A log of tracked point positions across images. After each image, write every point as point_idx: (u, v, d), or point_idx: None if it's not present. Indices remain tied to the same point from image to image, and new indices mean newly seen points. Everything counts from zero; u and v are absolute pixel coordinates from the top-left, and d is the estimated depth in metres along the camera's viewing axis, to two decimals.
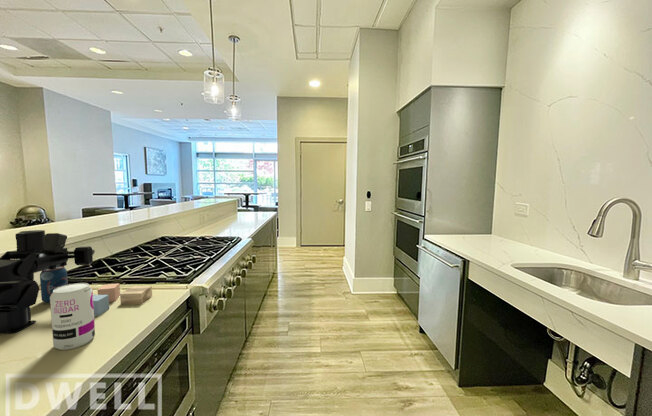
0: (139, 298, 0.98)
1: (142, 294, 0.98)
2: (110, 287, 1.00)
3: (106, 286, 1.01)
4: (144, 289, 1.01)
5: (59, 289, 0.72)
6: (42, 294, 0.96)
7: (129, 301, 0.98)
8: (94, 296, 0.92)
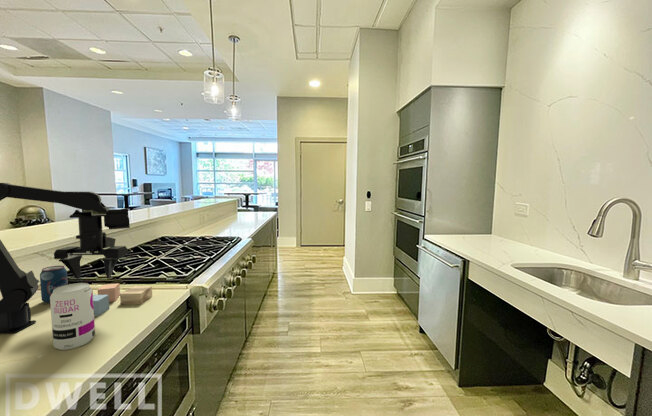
0: (138, 298, 0.98)
1: (142, 294, 0.98)
2: (110, 287, 1.00)
3: (106, 286, 1.01)
4: (143, 289, 1.01)
5: (59, 289, 0.72)
6: (42, 294, 0.96)
7: (129, 301, 0.98)
8: (94, 296, 0.92)
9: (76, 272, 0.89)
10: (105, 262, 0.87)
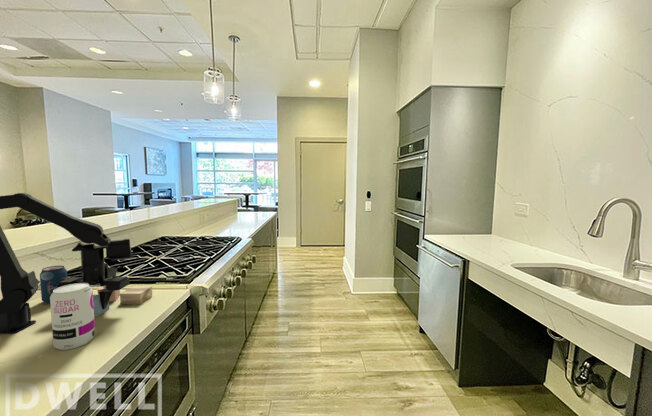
0: (138, 299, 0.98)
1: (141, 294, 0.98)
2: None
3: None
4: (143, 290, 1.01)
5: (59, 289, 0.72)
6: (42, 294, 0.96)
7: (129, 301, 0.98)
8: (94, 296, 0.92)
9: None
10: (100, 294, 0.88)
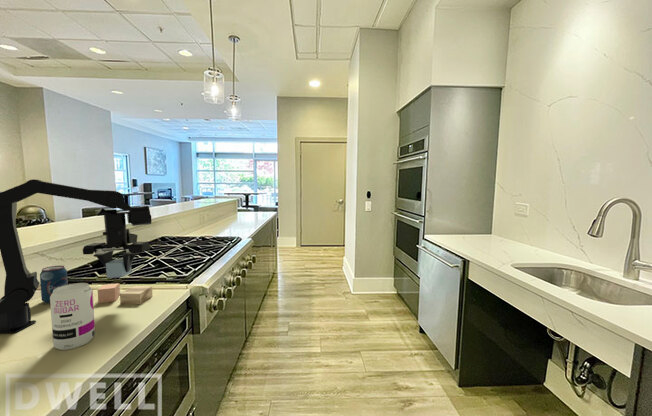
0: (138, 299, 0.98)
1: (141, 294, 0.98)
2: (110, 287, 1.00)
3: (106, 286, 1.01)
4: (143, 290, 1.01)
5: (59, 289, 0.72)
6: (42, 294, 0.96)
7: (128, 301, 0.98)
8: (117, 260, 0.96)
9: None
10: (124, 257, 0.93)
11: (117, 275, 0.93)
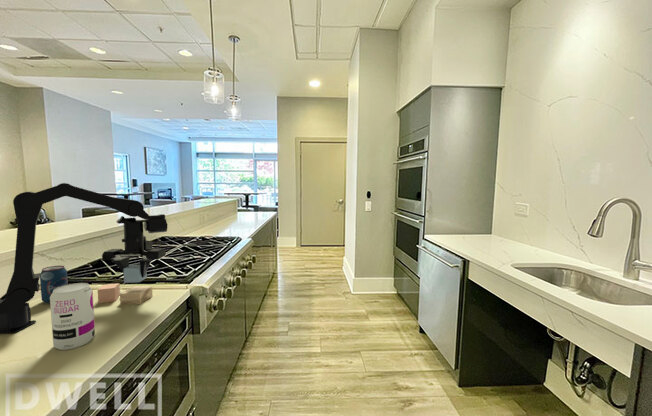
0: (137, 299, 0.97)
1: (141, 294, 0.98)
2: (110, 287, 1.00)
3: (106, 286, 1.01)
4: (143, 290, 1.01)
5: (59, 289, 0.72)
6: (42, 294, 0.96)
7: (128, 301, 0.98)
8: (134, 265, 1.01)
9: None
10: (141, 263, 0.98)
11: (134, 280, 0.98)
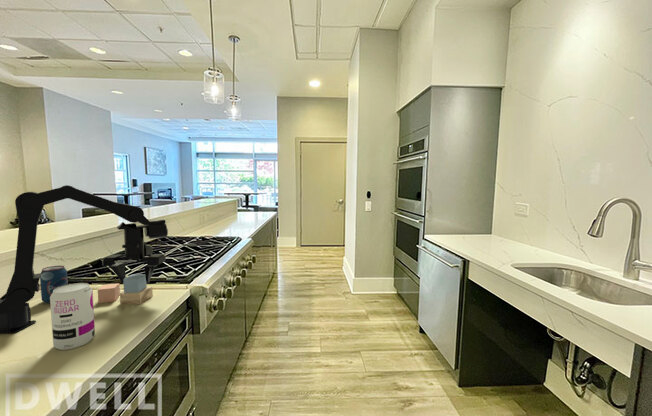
0: (137, 299, 0.97)
1: (141, 294, 0.98)
2: (110, 287, 1.00)
3: (106, 286, 1.01)
4: (143, 290, 1.01)
5: (59, 289, 0.72)
6: (42, 294, 0.96)
7: (128, 301, 0.98)
8: (134, 275, 1.01)
9: (122, 277, 0.99)
10: (145, 269, 0.98)
11: (134, 290, 0.98)
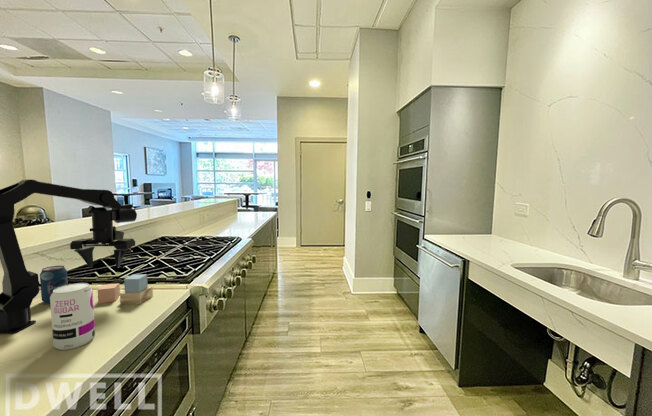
0: (138, 299, 0.98)
1: (141, 294, 0.98)
2: (110, 287, 1.00)
3: (106, 286, 1.01)
4: (143, 290, 1.01)
5: (59, 289, 0.72)
6: (42, 294, 0.96)
7: (128, 301, 0.98)
8: (134, 275, 1.01)
9: (89, 261, 0.99)
10: (115, 253, 0.98)
11: (134, 290, 0.98)
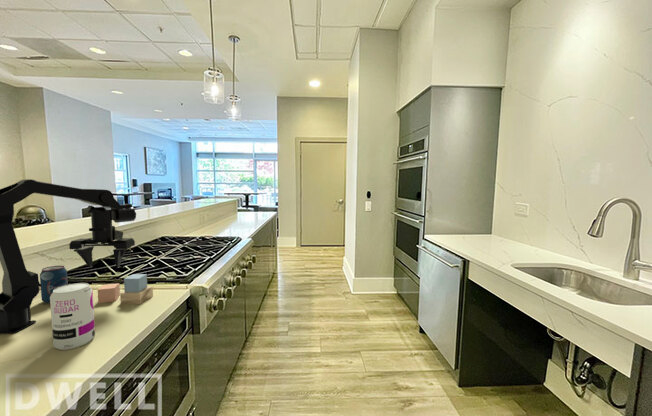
0: (138, 299, 0.98)
1: (141, 294, 0.98)
2: (110, 287, 1.00)
3: (106, 286, 1.01)
4: (143, 290, 1.01)
5: (59, 289, 0.72)
6: (42, 294, 0.96)
7: (128, 301, 0.98)
8: (134, 275, 1.02)
9: (89, 261, 0.99)
10: (114, 252, 0.98)
11: (134, 290, 0.98)
